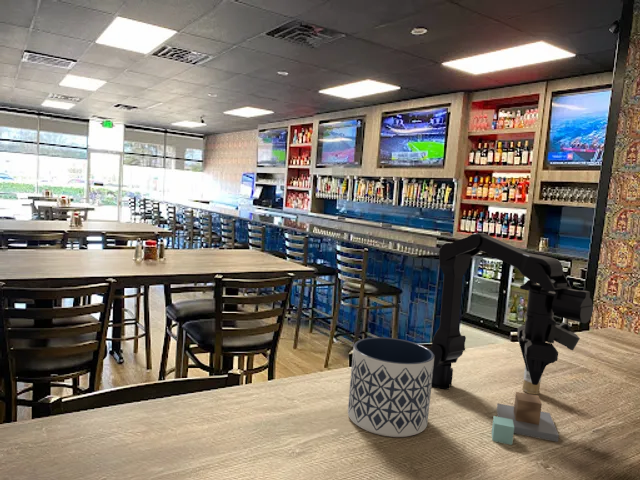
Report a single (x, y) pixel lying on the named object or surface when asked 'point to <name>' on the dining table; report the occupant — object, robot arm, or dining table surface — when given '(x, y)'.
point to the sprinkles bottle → (530, 384)
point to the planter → (390, 386)
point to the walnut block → (527, 408)
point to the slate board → (542, 430)
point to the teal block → (502, 430)
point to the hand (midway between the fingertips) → (531, 377)
